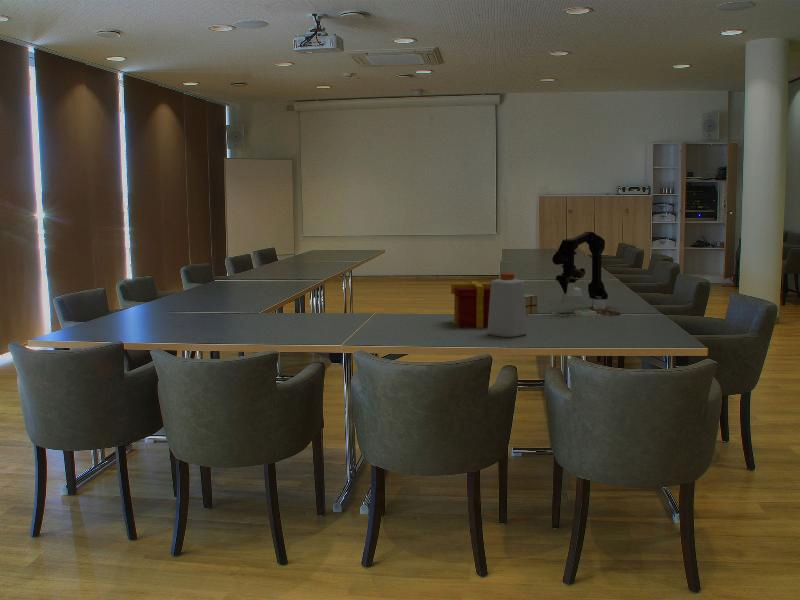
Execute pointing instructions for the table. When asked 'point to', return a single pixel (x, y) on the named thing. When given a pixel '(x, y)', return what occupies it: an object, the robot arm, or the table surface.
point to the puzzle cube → (530, 304)
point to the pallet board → (607, 312)
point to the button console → (585, 313)
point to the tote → (561, 314)
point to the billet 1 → (569, 290)
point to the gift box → (471, 304)
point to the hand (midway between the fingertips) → (568, 293)
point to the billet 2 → (599, 304)
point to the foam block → (575, 298)
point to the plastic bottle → (507, 307)
